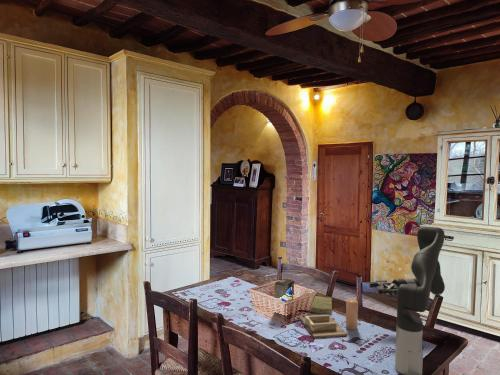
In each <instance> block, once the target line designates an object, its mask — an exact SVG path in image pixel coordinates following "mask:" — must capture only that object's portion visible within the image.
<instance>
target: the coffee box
mask: <svg viewBox="0 0 500 375" xmlns="http://www.w3.org/2000/svg"><path fill="white" fill-rule="evenodd" d="M290 287H292V289H293V295H294V296H295V280H291V279H289V278H283V279H280V280H279V281H275V291H274V292H275V296H274V298H280V297H282V296H283V295H285V293H286V291H287V290H288V289H289V288H290Z"/></svg>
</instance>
